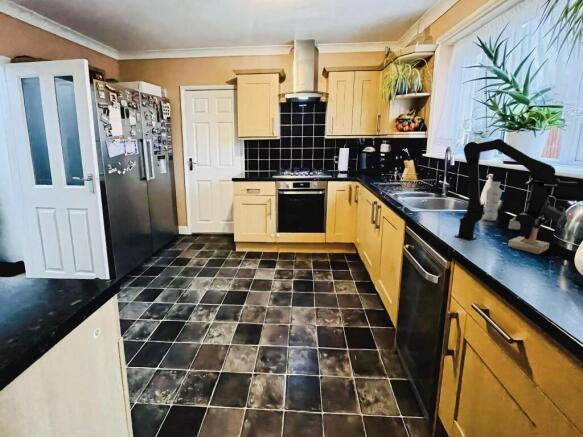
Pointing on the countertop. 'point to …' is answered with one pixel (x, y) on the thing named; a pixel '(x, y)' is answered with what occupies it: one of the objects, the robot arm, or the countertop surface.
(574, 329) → the countertop surface
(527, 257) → the countertop surface
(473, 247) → the countertop surface
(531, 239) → the peg
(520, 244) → the socket block
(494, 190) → the plastic bottle
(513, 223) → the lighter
